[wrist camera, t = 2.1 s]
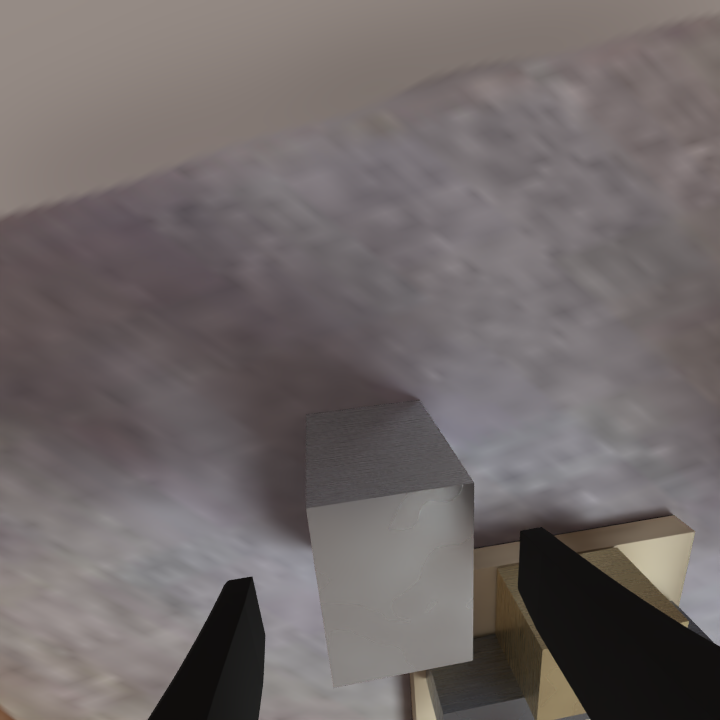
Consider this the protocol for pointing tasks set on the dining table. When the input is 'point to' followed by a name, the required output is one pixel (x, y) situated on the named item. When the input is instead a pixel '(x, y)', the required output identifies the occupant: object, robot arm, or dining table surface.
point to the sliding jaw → (527, 656)
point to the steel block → (389, 541)
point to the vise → (635, 540)
